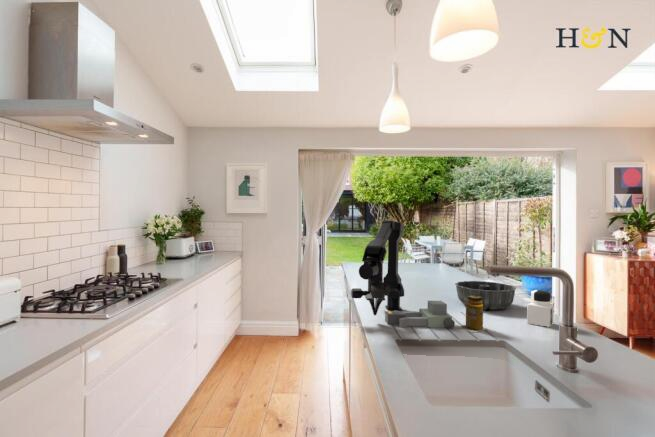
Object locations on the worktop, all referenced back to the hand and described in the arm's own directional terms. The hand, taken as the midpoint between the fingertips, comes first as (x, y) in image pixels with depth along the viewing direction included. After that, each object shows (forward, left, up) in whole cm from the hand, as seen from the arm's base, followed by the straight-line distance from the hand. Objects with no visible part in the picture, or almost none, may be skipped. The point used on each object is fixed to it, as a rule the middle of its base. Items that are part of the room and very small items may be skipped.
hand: (374, 315), depth 137 cm
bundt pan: (-27, +57, -3) cm, 63 cm away
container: (+1, +66, -3) cm, 66 cm away
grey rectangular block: (0, +8, -3) cm, 9 cm away
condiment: (+7, +36, -3) cm, 37 cm away
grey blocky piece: (0, +19, -3) cm, 19 cm away
